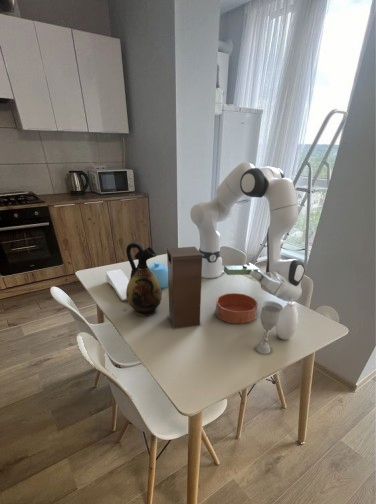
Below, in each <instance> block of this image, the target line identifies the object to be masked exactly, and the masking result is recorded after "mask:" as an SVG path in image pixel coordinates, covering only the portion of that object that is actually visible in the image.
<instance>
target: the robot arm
mask: <svg viewBox="0 0 376 504" xmlns="http://www.w3.org/2000/svg"><path fill="white" fill-rule="evenodd" d="M215 194H216V196H215V197H214V198H212V199H209V200H204V201H200V202H197V203H196V204H194V205H193V206H192V207H191V208H190V211H189V212H190V213H189V214H190V219H191V221H192V223H193V224H194V225H195V226H196V228H197V229H198V233H199V249H198V251H199V252H200V253H201V254H202V277H201V278H203V279H214V278H219V277H220V276H221V275H222V274H224V273H225V272H224V269H223V259H222V257H221V234H220V232H219V231H217V229H216V224H217V223H220V222H223V221H226V220H227V219H229V218H230V217H231V216H232V213H233V207H234V206H235V204H236V203H237V202H238V201H239V200H240V199H241V198H242V197H243V196H246V197H250V198H264V197H265V199H266V200H267V202H268V207H269V226H268V227H267V232H266V267H265V271H263V270H262V269H261V268H259V267H258V266H256V265H255V264H253V263H251V262H247V264H246V265H247V266H255V267H256V268H257V269H258V273H257V272H255V271H253V270H250V271H249V274H250V276H251V277H252V279H254V280H255V281H257V282H258V283H259V285H260V288H261V290H262V291H264V292H265V293H268V294H270V295H273V296H274V297H276V298H277V299H280V300H282V301H284V302H287V303H288V302H291V300H292V297H293V301H292V302H296V301H297V300H298V299H300V297H301V296H302V293H303V289H302V280H303V277H304V275H305V272H306V269H305V268H306V267H305V264H304V263H303V261H302V260H301V259H299V258H291V259H282V258H281V257H282V256H281V255H282V254H281V252H282V251H281V250H282V249H281V248H282V247H281V246H282V245H281V243H282V238H283V236H284V235H285V234H286V233H287V232H288V231H290V230H291V229H293V227H295V225H296V223H297V222H298V219H299V205H298V196H297V192H296V188H295V185H294V182H293V180H291V179H290V178H287V177H286V176H285V172H284V171H283V170H282V169H280V168H279V167H276V166H260V167H255V166H254V164H252V163H251V162H249V161H243V162H241V163H239V164H238V165H237V166H236V167H234V168H233V169H232V170H231V171H230V172H229V174H227V176H226V177H225V178H224V179H223V181H221V183H219V186H217V188H216V193H215Z"/></svg>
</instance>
